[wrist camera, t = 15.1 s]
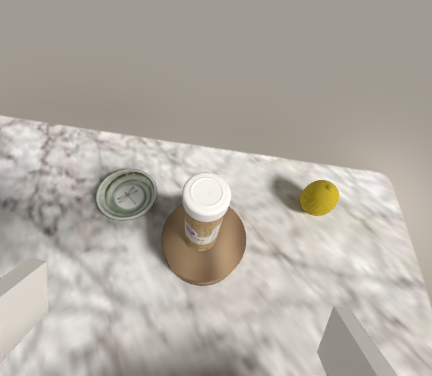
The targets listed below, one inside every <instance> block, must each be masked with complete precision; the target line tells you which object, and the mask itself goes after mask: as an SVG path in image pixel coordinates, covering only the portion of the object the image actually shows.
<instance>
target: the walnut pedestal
mask: <svg viewBox="0 0 432 376" xmlns="http://www.w3.org/2000/svg"><path fill="white" fill-rule="evenodd" d="M162 247H163V252H164V254H165V257H166V259H167V262H168V264H169V266H170V268H171V269H172V271H173V272H174V273H175V274H176V275H177V276H178V277H179V278H180V279H182V280H183V281H185V282H187V283H190V284H193V285H199V286H206V285H212V284H215V283H217V282H219V281H221V280H223V279H224V278H226V277H227V276H228V275H229V274H230V273H231V272H232V271H233V270H234V269H235V267H236V266H237V265H238V264H239V262H240V261H241V259H242V257H243V254H244V251H245V247H246V233H245V229H244V226H243V223H242V221H241V219H240V218H239V216H238V215H237V214H236V213H235V212H234V210H232V209H231V208H230V207H229V206H228V209H227V211H226V213H225V214H224V216H223V220H222V223H221V226H220V229H219V232H218V235H217V238H216V242H215V243H214V245H213V246H212V247H211V248H210V249H208V250H205V251H197V250H194V249H192V248H190V247H189V245H188V244H187V242H186V240H185V209H184V206H183V204H182V205H180V206H179V207H177V208H176V209H175V210H174V211H173V212H172V213H171V214H170V216H169V217H168V219H167V221H166V223H165V225H164V228H163V232H162Z"/></svg>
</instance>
